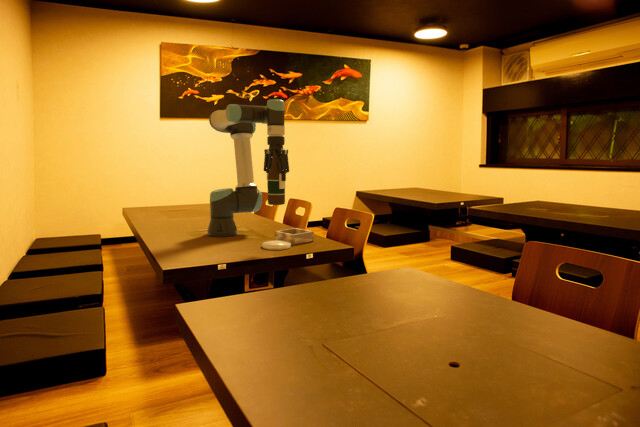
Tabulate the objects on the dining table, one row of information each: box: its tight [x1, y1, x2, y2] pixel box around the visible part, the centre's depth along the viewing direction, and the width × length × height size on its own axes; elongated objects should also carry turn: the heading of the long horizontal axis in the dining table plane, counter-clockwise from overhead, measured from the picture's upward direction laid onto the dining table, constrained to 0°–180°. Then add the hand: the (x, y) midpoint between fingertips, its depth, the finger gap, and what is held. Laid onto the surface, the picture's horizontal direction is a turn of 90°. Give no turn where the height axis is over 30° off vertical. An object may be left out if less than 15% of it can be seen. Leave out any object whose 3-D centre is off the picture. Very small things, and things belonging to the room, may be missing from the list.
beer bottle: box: [267, 150, 286, 206], centre depth 194 cm, size 8×8×24 cm
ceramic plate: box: [261, 240, 292, 251], centre depth 199 cm, size 13×13×2 cm
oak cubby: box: [274, 227, 315, 246], centre depth 212 cm, size 13×13×4 cm
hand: (276, 188), depth 195 cm, fingers closed on beer bottle, 8 cm apart
